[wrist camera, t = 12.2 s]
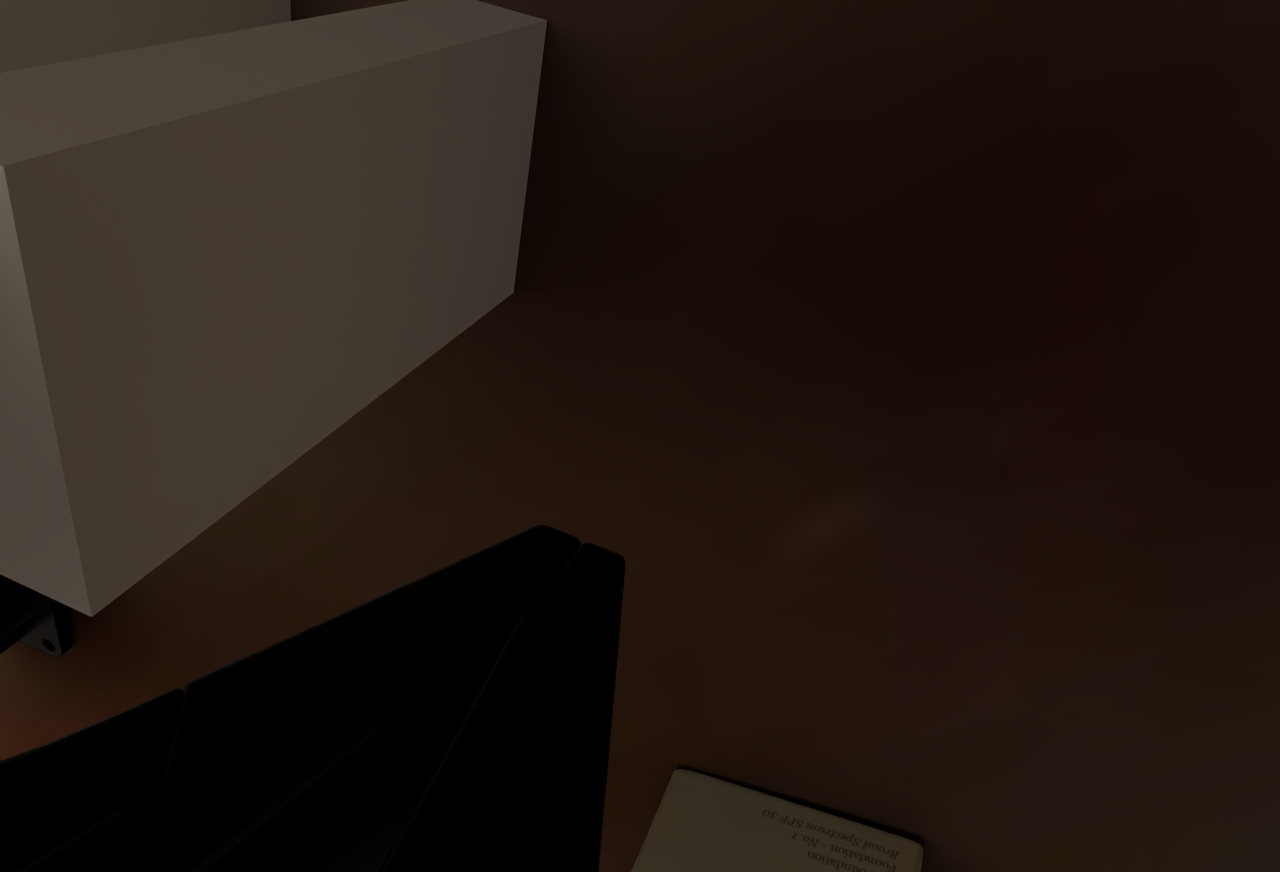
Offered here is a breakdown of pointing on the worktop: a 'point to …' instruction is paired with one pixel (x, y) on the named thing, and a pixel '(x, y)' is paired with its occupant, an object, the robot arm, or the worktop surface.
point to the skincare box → (761, 834)
